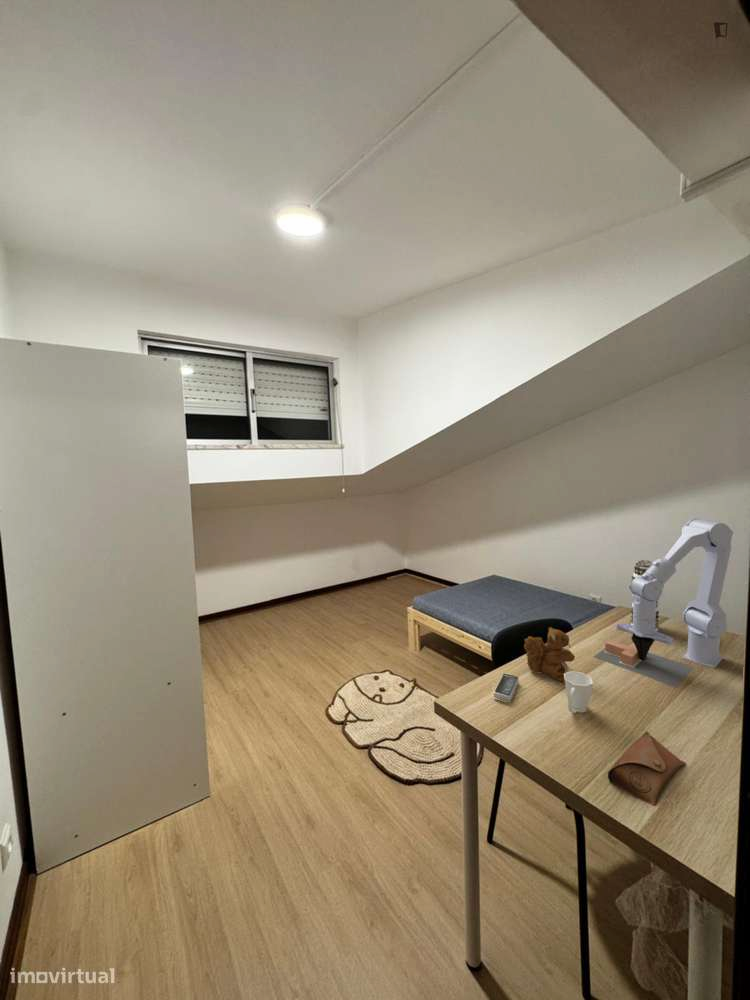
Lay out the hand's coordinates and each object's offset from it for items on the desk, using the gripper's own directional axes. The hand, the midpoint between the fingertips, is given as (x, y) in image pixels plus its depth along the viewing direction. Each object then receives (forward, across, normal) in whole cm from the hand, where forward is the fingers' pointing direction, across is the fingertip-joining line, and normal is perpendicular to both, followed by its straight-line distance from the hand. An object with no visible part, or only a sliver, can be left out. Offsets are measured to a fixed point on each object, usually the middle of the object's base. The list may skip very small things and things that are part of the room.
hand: (642, 658), depth 121 cm
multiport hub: (+2, -19, -44) cm, 48 cm away
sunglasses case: (+2, +16, -46) cm, 49 cm away
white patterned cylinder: (+2, -9, +29) cm, 30 cm away
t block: (+1, -6, 0) cm, 6 cm away
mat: (+1, 0, 0) cm, 1 cm away
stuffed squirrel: (+2, -16, -26) cm, 31 cm away
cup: (+2, -2, -38) cm, 38 cm away
